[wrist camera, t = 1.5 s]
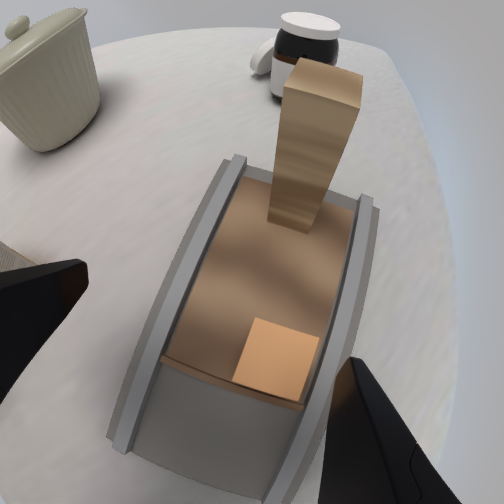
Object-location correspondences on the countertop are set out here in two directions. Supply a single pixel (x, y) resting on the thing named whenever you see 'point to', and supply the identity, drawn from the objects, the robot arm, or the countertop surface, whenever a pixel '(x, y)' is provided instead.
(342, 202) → the track
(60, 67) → the canister
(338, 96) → the tan l-shaped piece
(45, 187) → the countertop surface
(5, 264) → the supplement box
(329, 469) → the robot arm
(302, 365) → the cube
